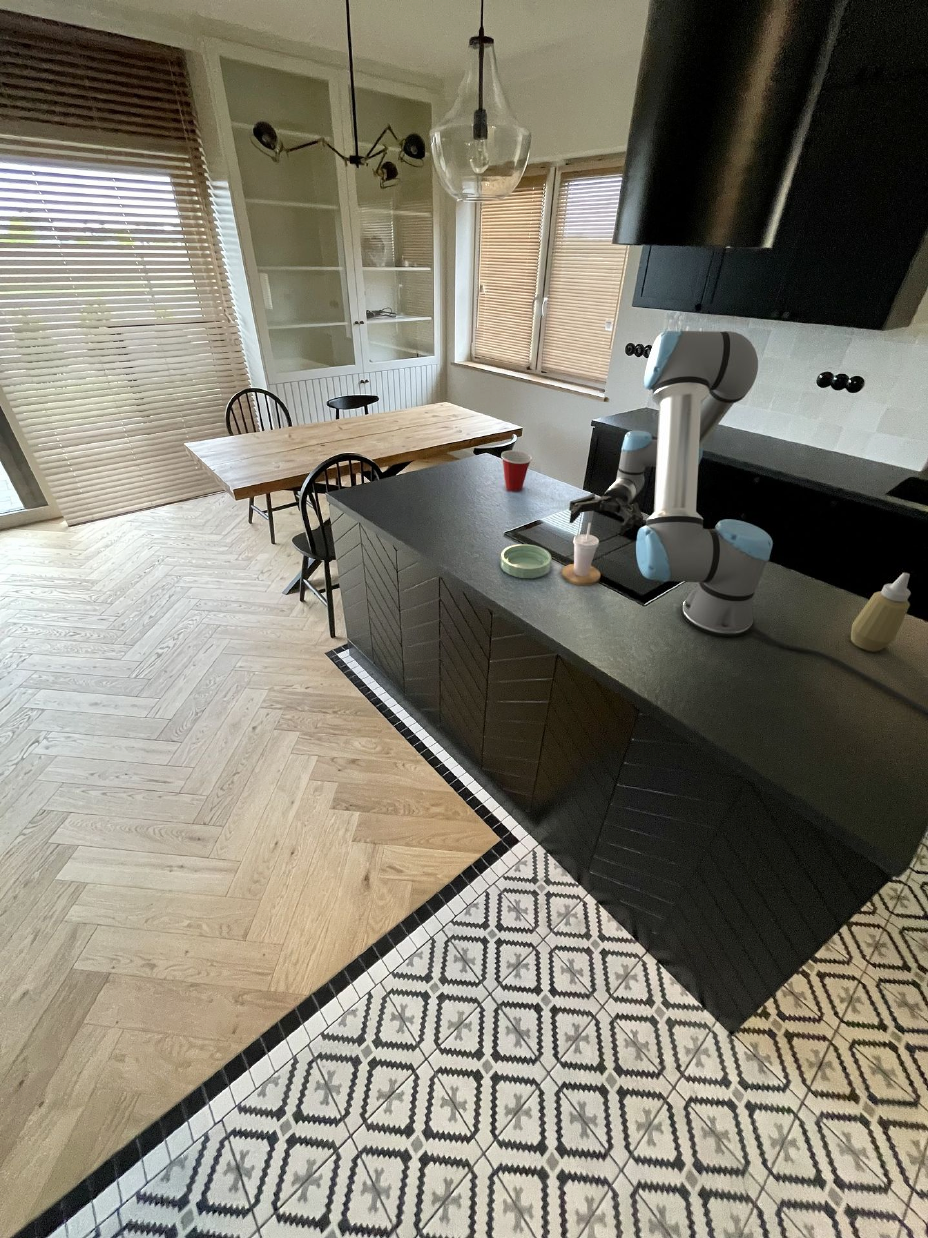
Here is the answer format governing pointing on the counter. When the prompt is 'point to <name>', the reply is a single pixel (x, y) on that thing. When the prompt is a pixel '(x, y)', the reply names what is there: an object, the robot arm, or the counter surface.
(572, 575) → the coaster
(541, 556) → the bowl
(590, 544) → the smoothie
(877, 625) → the squeeze bottle
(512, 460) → the plastic cup
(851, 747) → the counter surface
